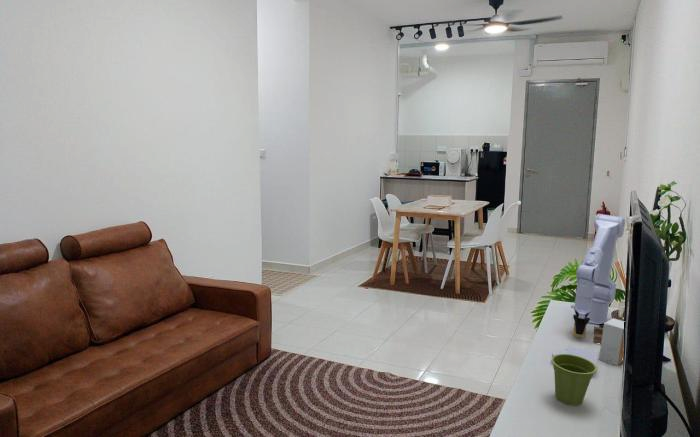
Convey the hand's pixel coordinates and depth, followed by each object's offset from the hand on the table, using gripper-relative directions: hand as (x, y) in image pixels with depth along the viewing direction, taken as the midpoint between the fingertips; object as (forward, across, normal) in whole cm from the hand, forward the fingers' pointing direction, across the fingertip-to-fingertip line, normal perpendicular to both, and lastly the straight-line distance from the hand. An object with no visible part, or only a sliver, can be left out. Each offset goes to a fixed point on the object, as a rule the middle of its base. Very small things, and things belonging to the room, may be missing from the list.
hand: (579, 330), depth 195 cm
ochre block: (+2, 0, 0) cm, 2 cm away
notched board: (+2, 0, +8) cm, 8 cm away
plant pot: (+2, +54, -1) cm, 54 cm away
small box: (+2, +17, +11) cm, 20 cm away
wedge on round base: (+2, +30, -1) cm, 30 cm away
